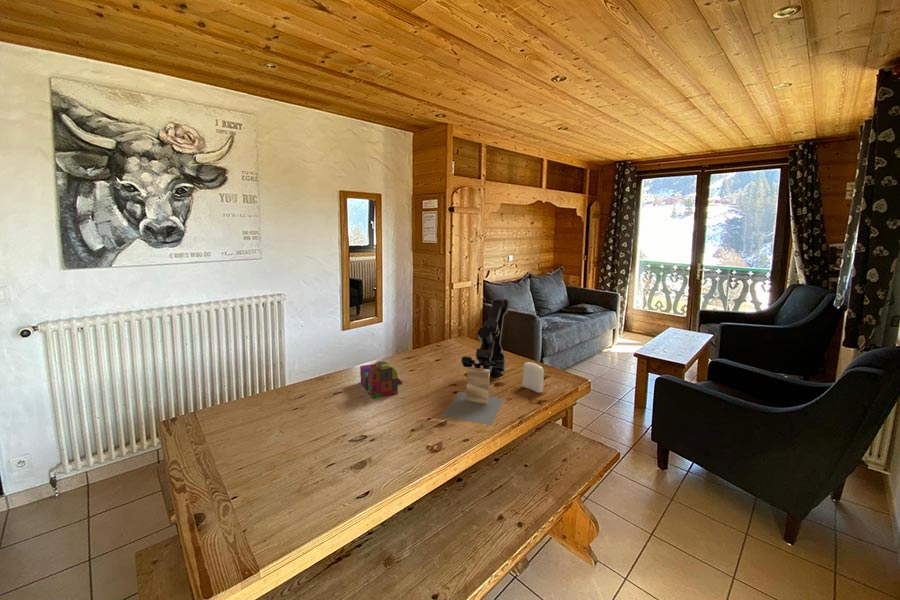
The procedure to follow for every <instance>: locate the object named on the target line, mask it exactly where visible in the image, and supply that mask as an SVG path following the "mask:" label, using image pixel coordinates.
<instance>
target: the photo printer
mask: <svg viewBox="0 0 900 600" xmlns="http://www.w3.org/2000/svg"><path fill="white" fill-rule="evenodd" d="M522 366H523V367H522V387H523V388H526V389H527V390H531V391H532V392H535V393H537V394H538V393H539V394H540V393H543V391H544V378H545V369H544V368H543V366H541V365H539V364H538V363H535V362H532V361H531V362H529V361H527V362H524V364H523V365H522Z"/></svg>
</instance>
